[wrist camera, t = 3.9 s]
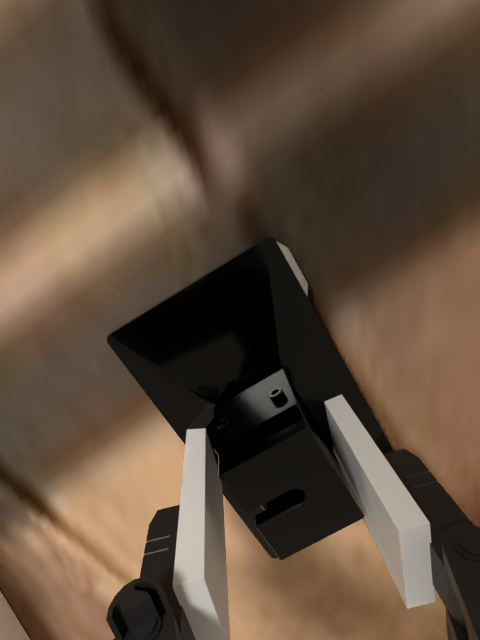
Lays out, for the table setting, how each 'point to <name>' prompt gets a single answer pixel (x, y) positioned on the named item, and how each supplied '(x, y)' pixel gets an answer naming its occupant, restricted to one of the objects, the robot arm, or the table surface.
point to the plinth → (10, 623)
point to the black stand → (254, 392)
